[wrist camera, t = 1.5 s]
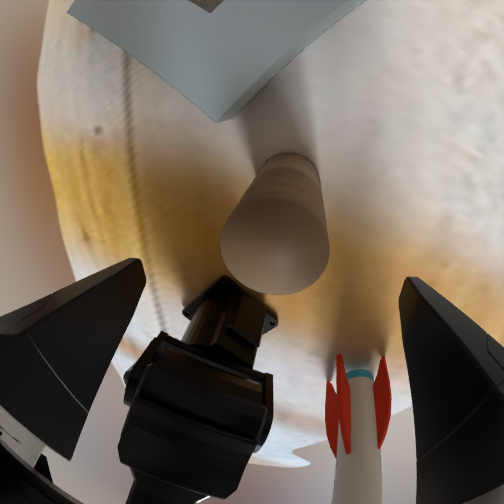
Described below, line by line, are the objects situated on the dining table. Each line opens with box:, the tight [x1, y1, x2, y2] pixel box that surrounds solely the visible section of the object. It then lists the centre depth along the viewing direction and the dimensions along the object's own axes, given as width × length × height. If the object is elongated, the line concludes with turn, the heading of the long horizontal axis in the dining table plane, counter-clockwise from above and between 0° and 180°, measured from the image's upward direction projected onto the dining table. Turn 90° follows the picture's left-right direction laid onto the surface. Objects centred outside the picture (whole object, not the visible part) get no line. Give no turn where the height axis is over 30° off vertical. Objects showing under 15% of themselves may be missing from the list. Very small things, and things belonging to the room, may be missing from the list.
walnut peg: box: [220, 152, 329, 295], centre depth 14 cm, size 4×4×9 cm
